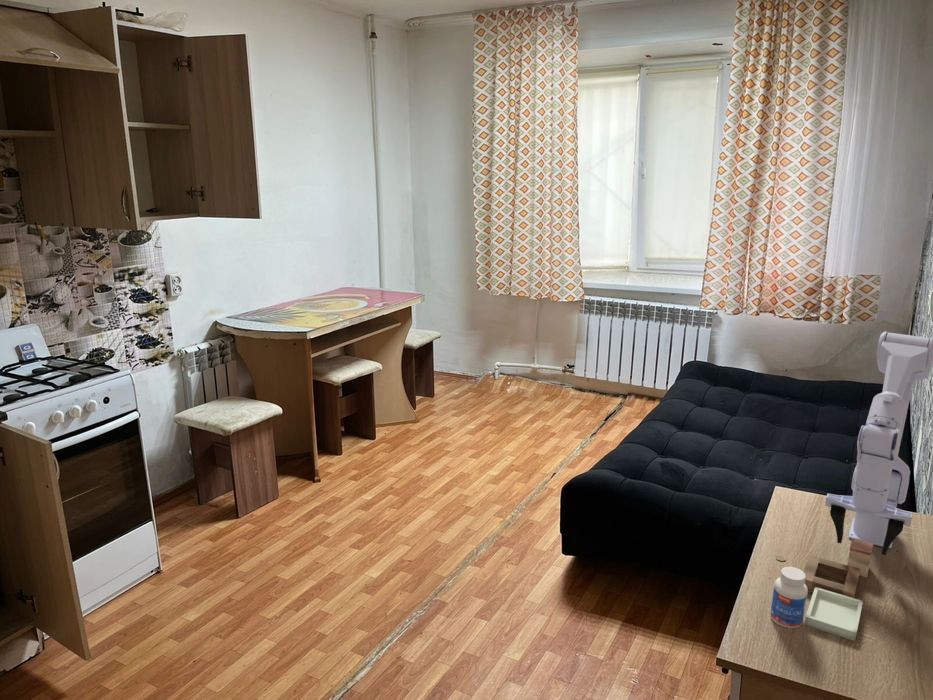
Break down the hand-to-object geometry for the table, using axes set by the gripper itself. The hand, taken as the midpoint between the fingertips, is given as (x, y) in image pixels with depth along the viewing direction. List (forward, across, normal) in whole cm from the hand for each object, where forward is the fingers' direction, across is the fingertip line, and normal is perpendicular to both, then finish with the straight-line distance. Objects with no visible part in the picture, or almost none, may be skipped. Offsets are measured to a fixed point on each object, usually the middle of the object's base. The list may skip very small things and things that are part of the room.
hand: (861, 546), depth 139 cm
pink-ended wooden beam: (+5, 0, 0) cm, 5 cm away
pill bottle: (+6, -9, -23) cm, 25 cm away
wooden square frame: (+5, -4, -8) cm, 10 cm away
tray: (+5, -2, -18) cm, 19 cm away
